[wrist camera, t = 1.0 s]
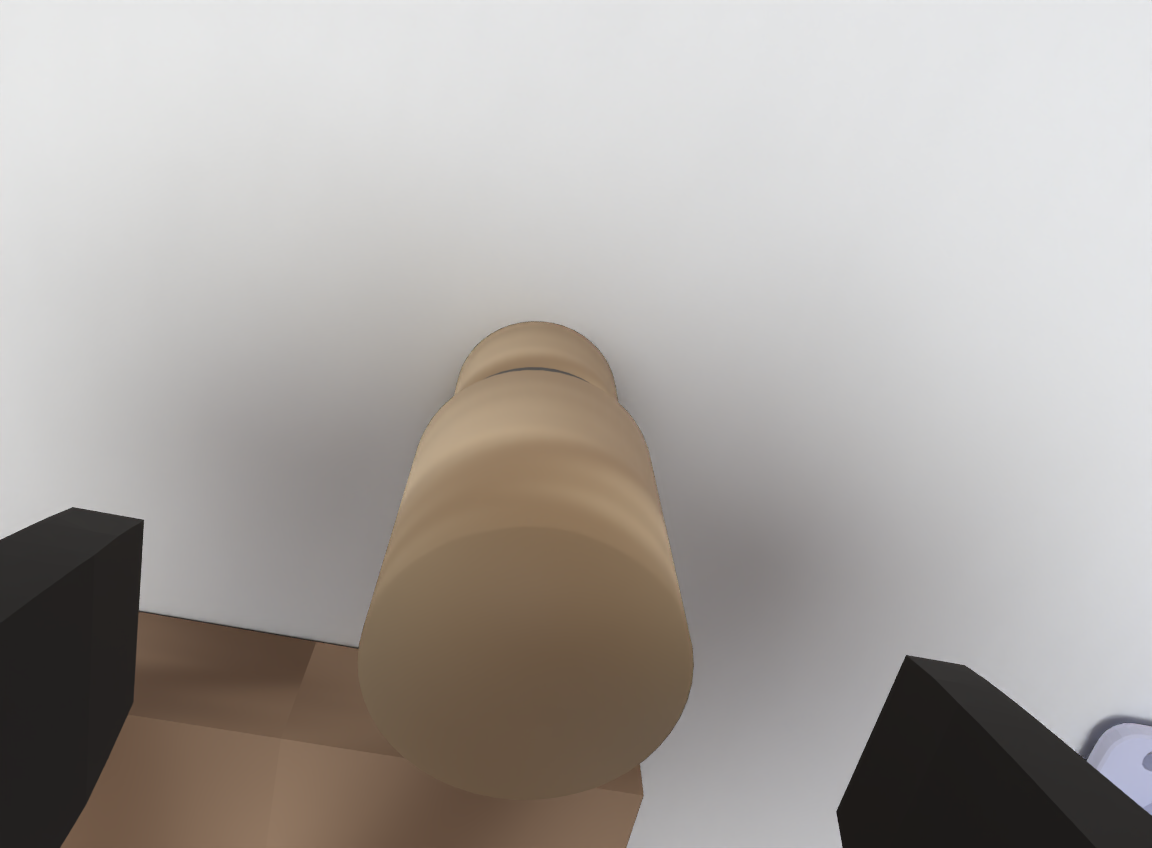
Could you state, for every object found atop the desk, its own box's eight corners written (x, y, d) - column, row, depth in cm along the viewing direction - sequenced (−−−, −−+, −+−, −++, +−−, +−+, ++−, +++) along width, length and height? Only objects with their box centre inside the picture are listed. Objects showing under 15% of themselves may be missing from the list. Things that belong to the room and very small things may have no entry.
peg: (656, 326, 15) (734, 562, 9) (608, 501, 16) (646, 821, 10) (456, 283, 15) (383, 496, 8) (422, 465, 16) (337, 773, 10)
